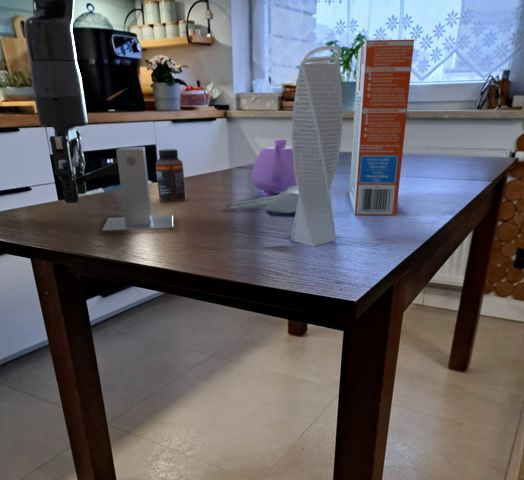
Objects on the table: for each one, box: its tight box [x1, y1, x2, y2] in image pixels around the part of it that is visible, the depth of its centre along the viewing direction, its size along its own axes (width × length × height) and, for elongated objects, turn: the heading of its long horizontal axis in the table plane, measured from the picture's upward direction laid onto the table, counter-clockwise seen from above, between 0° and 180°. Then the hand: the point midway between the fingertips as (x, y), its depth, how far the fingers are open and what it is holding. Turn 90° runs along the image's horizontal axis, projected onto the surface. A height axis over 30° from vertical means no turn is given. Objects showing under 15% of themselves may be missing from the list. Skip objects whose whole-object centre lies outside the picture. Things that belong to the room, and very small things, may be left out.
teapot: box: [250, 139, 297, 197], centre depth 124 cm, size 20×14×12 cm
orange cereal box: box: [348, 39, 415, 217], centre depth 106 cm, size 23×8×30 cm, turn 174°
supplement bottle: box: [155, 148, 187, 203], centre depth 114 cm, size 6×6×11 cm
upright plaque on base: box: [101, 146, 174, 232], centre depth 91 cm, size 12×10×14 cm
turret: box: [228, 186, 299, 214], centre depth 106 cm, size 10×20×5 cm, turn 82°
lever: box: [75, 161, 119, 185], centre depth 89 cm, size 13×5×2 cm, turn 99°
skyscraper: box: [290, 45, 344, 247], centre depth 79 cm, size 8×8×28 cm
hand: (76, 197), depth 90 cm, fingers open, 8 cm apart
